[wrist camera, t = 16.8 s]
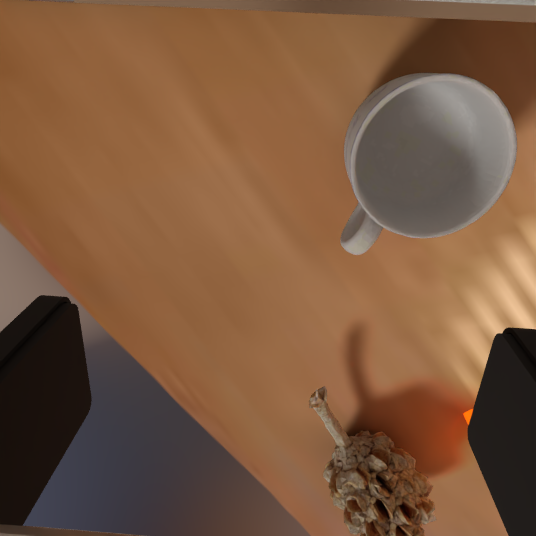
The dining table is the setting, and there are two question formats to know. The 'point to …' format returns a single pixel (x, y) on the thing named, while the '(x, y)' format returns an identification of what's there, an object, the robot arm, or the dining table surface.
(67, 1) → the slate tile
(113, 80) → the dining table surface
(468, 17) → the frame lid
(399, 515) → the pine cone
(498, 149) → the teacup
